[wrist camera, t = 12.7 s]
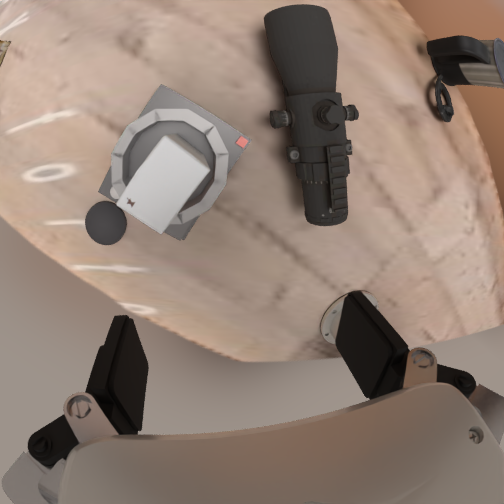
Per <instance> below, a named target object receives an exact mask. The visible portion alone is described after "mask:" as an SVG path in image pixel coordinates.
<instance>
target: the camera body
mask: <svg viewBox="0 0 504 504" xmlns="http://www.w3.org/2000/svg"><path fill="white" fill-rule="evenodd" d="M171 134H178V135H179V136H180V137H182V138H183V139H184V140H186V141H187V142H188V143H189V144H191V145H192V146H193V147H195V148H196V149H197V150H198V151H200V152H201V153H202V154H203V155H204V157H205V159H206V161H207V164H208V166H209V168H210V172H209V173H208V174H207V175H206V176H205V178H204V179H203V180H202V182H201V183H200V184H199V185H198V187H197V188H196V189H195V191H194V192H193V193H192V194H191V196H190V197H189V198H188V200H187V201H186V202H185V204H184V205H183V207H182V208H181V209H180V211H179V212H178V214H177V215H176V216H175V218H174V219H173V220H172V222H171V223H170V224H169V226H168V227H167V228H166V229H165V231H164V232H165V233H167V234H169V235H171V236H172V237H174V238H176V239H178V240H181V239H182V240H184V239H185V238H186V236H187V235H188V233H189V231H190V230H191V228H192V227H193V225H194V224H195V222H196V220H197V219H198V217H199V216H200V214H202V213H204V212H206V211H208V210H209V209H210V208H211V206H212V205H213V203H214V202H215V200H216V199H217V197H218V196H219V194H220V193H221V191H222V190H223V188H224V187H225V186H226V180H227V174H228V173H229V171H230V170H231V168H232V167H233V165H234V164H235V163H236V161H237V160H238V158H239V157H240V156H241V154H242V153H243V151H244V150H245V149H246V147H247V146H248V144H249V143H250V142H251V139H249V138H248V137H246V136H245V135H243V134H242V133H240V132H239V131H237V130H236V129H235V128H233V127H232V126H230V125H228V124H227V123H225V122H224V121H222V120H221V119H219V118H218V117H216V116H215V115H213V114H211V113H210V112H208V111H207V110H205V109H203V108H202V107H200V106H198V105H197V104H195V103H194V102H192V101H190V100H189V99H187V98H185V97H183V96H182V95H180V94H178V93H177V92H175V91H173V90H171V89H169V88H168V87H166V86H164V85H162V84H161V85H160V86H159V88H158V89H157V91H156V92H155V93H154V95H153V96H152V98H151V99H150V101H149V102H148V104H147V105H146V107H145V108H144V110H143V111H142V113H141V114H140V116H139V118H138V119H137V120H136V121H134V122H132V123H131V124H129V125H127V127H126V129H125V130H124V132H123V134H122V135H121V137H120V139H119V141H118V143H117V144H116V146H115V148H114V150H113V152H112V156H111V167H110V169H109V171H108V173H107V175H106V177H105V179H104V181H103V183H102V185H101V187H100V189H99V191H98V192H99V193H101V194H102V195H104V196H106V197H108V198H109V199H111V200H113V201H115V202H116V203H117V201H118V200H119V198H120V196H121V195H122V193H123V191H124V190H125V188H126V187H127V185H128V184H129V182H130V181H131V179H132V178H133V176H134V175H135V173H136V171H137V170H138V169H139V167H140V166H141V165H142V164H143V162H144V161H145V160H146V158H147V157H148V156H149V154H150V153H151V151H152V150H153V149H154V147H155V146H156V145H157V144H158V142H159V141H160V140H161V138H162V137H163V136H165V135H171Z"/></svg>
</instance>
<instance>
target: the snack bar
mask: <svg viewBox="0 0 504 504" xmlns="http://www.w3.org/2000/svg"><path fill="white" fill-rule="evenodd" d="M10 43H11V41H8V42H7V41H6V42H5V41H1V40H0V65H1V63H2V60H3V58H4V55H5V53H6V51H7V49H8V46H9V45H10Z"/></svg>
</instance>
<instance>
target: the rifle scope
mask: <svg viewBox="0 0 504 504" xmlns="http://www.w3.org/2000/svg"><path fill="white" fill-rule="evenodd" d="M264 24H265V28H266V33H267V37H268V42H269V47H270V52H271V56H272V58H273V60H274V62H275V64H276V66H277V68H278V71H279V73H280V75H281V77H282V79H283V80H282V82H283V87H284V93H285V101H286V107H287V109H286V111H285V110H284V111H276V110H274V111H270V122H271V126H272V127H274V128H275V129H276V128H279V127H284V126H289V127H290V132H291V138H292V145H293V146H290V147H286V150H287V157H288V162H290V163H295V166H296V173H297V177H298V179H301V180H302V188H303V197H304V206H305V216H306V220H307V221H308V222H309V223H311V224H314V225H318V226H332V225H337V224H340V223H342V222H344V221H345V220H346V219H347V215H348V201H347V183H346V177H347V176H348V174H350V170H349V157H348V156H347V155H352V145H351V140H347V137H346V128H345V121H346V120H350V121H354V120H357V119H358V117H359V113H358V110H357V109H356V107H355V105H348V106H343V105H342V98H341V93H337V92H336V78H337V60H338V46H337V42H336V37H335V33H334V29H333V25H332V21H331V17H330V15H329V12H328V11H327V10H326V9H325V8H323V7H320V6H315V5H304V4H302V5H290V6H285V7H281V8H278V9H275V10H273V11H271V12H269V13H267V14H266V15H265V17H264Z"/></svg>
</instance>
